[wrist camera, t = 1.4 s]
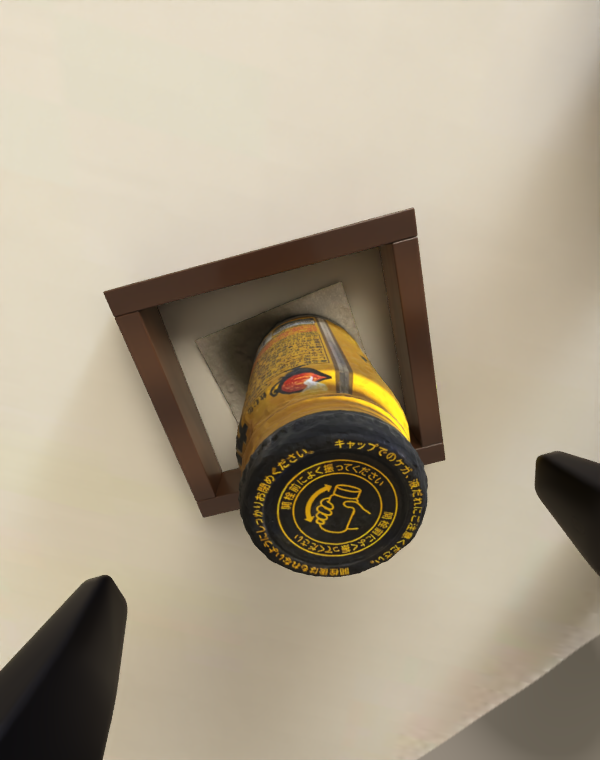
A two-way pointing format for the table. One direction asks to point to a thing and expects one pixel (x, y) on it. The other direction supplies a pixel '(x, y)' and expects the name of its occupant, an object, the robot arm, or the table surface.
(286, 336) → the condiment
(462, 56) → the table surface
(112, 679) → the robot arm
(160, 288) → the holder
